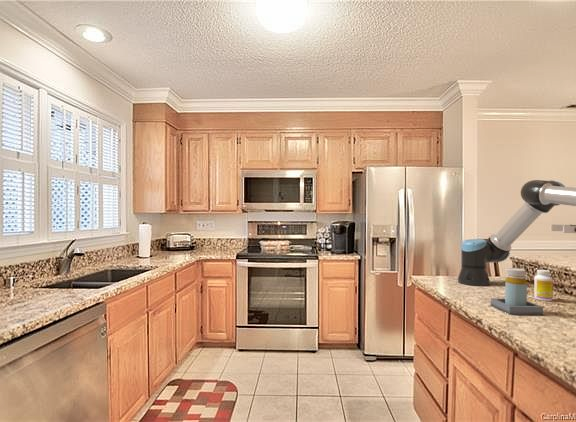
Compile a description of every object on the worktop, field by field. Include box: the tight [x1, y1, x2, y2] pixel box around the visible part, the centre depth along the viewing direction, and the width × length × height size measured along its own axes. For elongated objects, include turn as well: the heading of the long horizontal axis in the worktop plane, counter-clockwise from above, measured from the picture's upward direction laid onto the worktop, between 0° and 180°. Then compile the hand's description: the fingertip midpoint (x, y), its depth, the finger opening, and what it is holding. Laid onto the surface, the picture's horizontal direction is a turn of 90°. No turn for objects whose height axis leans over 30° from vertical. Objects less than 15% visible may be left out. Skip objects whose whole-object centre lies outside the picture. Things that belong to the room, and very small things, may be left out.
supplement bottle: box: [533, 269, 554, 302], centre depth 154 cm, size 7×7×13 cm
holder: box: [490, 297, 544, 316], centre depth 138 cm, size 12×12×3 cm
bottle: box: [504, 267, 528, 306], centre depth 138 cm, size 7×7×15 cm
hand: (556, 228), depth 141 cm, fingers open, 13 cm apart
